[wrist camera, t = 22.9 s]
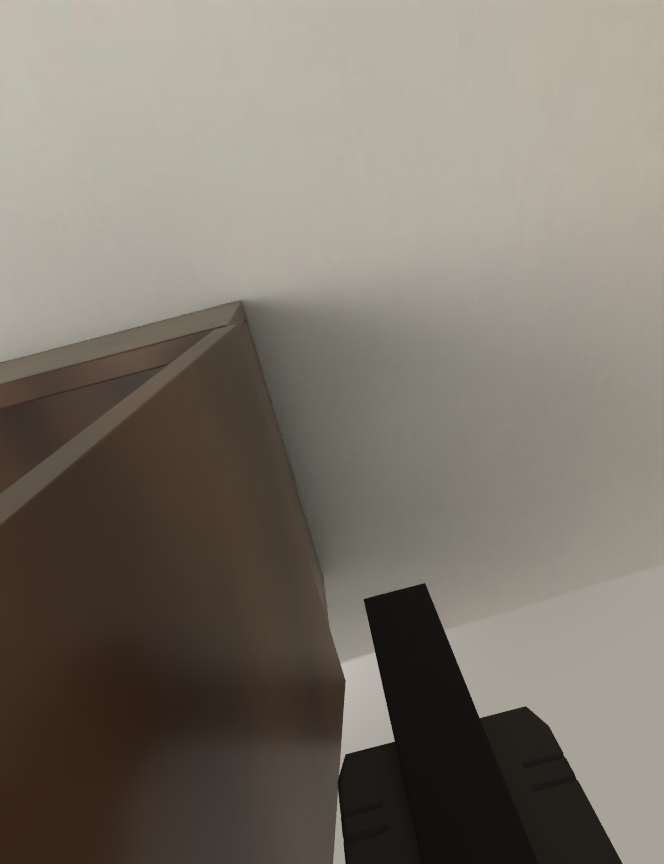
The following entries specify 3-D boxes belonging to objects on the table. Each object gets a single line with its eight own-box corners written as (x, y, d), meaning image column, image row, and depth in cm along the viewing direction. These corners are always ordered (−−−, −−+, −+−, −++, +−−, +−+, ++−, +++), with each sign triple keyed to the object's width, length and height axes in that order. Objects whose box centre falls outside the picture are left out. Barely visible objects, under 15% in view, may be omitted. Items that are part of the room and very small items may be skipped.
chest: (-78, 681, 30) (-176, 804, 23) (-241, 425, 25) (-422, 494, 18) (324, 577, 30) (335, 673, 23) (241, 299, 25) (226, 324, 18)
